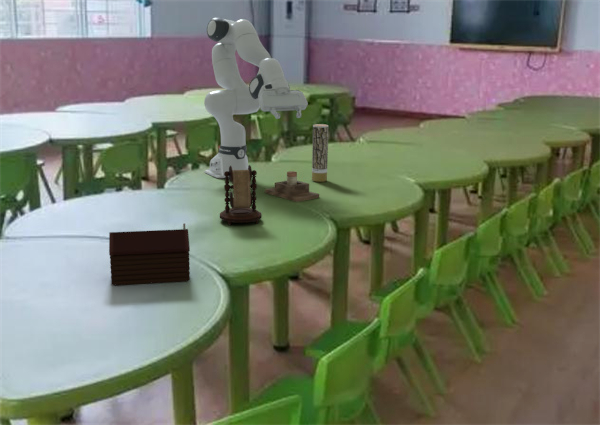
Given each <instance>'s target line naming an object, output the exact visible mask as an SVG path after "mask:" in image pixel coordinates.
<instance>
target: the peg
mask: <svg viewBox="0 0 600 425" xmlns="http://www.w3.org/2000/svg"><path fill="white" fill-rule="evenodd" d="M297 177H298V172H297V171H293V170H292V171H291V170H289V171H287V172H286V181H287V184H288V185H296V184H297V181H298V178H297Z"/></svg>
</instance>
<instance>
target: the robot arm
mask: <svg viewBox="0 0 600 425" xmlns="http://www.w3.org/2000/svg"><path fill="white" fill-rule="evenodd" d="M206 34H207V37H208V38H209V39H210V40H212V41H214V42H218V43H216V44H215V45H214V46H213V47H212V49H211V62H212V68H213V72H214V73H213V74H214V77H215V82H216V83H217V85H218V86H219V87H220V88H223V89H216V90H213V91H209V92H207V94H206V95H205V97H204V100H203V101H204V107H205V110H206V111H207V112H208V113H209V114H210V115H211V116H213V118H214V119H215V120H216V122H217V123H218V126H219V131H220V132H219V133H220V144H219V146H217V149H218V153H216V155H215V156H214V157H212V158H211V159H210V161H209V168H208V169H205V170H204V174H207V175H209V176H212V177H213V178H216V179H226V178H225V177H226V176H225V175H224V173H225V172H226V171H228V172H229V167H230V166H231V167H232V170H248V166H249V158H248V156H247V154H246V153H247V150H248V148H247V144H246V129H245V126H244V125H242V123H239V122H237V121H235V119H234V115H249V114H254V113H257V112H258V111H259V110H260V111H262V112H270V113H271V114H272V115H273V116H274V118H275V120H278V119H280V118H281V113H279V112H283V111H296V113H295V116H296V119H299V118H301V117H302V111H305V110H306V108H307V107H308V104H309V103H308V100H307V98H306V96H305V94H304V93H303V91H301V90H299V89H295V90H294V89H291V86H290V85H289V83H288V80H287V79H286V78H285V73H284V71H283V67H282V66H281V63H280V62H279V60H278V59H276V58H274V57H273V56H272V55H271V54H270V52H268V50H267V49H266V48H265V46H264V45H263V43H262V42H261V40H260V38H259V34H258V31H257V30H256V29H255V26H254V25H253V24H252V22H251V21H249V20H248V19H244V18H241V19H239V20H236V21H235V20H231V19H225V18H222V17H213V18H211V19H210V20H209V22H208V24H207V27H206ZM236 53H237V54H238V56H239V58H241V59H242V60H243V61H245V62H247V63H249V64H252V65H253V66H256V67H258V68H259V69H258V72H257V74H256V75H255V77H253V78H252V80H251V81H250V82H249V84H248V85H247V83H246V82H245V81H244V80H243V78H242V77H241V73H240V70H239V65H238V62H237V57H236ZM228 177H229V176H228Z"/></svg>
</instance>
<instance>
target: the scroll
mask: <svg viewBox="0 0 600 425" xmlns="http://www.w3.org/2000/svg"><path fill="white" fill-rule="evenodd" d="M257 174H258V173H257V170H255V169H252V166H251V165H250V164H248V170H232V167H231V166H230V167H229V172H228V171H226V172H225V173H224V175H225V176H226V177H225V178H224V179H225V180H224V183H225V184H224V186H223V189H224V191H225V193H224V196H225V197H224V202H225V203H224V205H225V206H224V210H223V211H221V212H220V213H219V218H220V220H221V221H225V222H227V223H228V225H229V226H231V225H232V223H238V224H239V223H252V222H254V223H255V224H256V225H257V224H258V223H259V221H260V220H261V219H262V212H260V211H259V210H257V204H256V203H257V196H256V195H257V191H256V190H257V188H258V185H257V180H256V178H257ZM228 176H229V177H228ZM230 182H231V185H230ZM230 190H233V192H232V191H230ZM251 190H252V191H251ZM229 205H230V206H229ZM230 207H231V208H230Z"/></svg>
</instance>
